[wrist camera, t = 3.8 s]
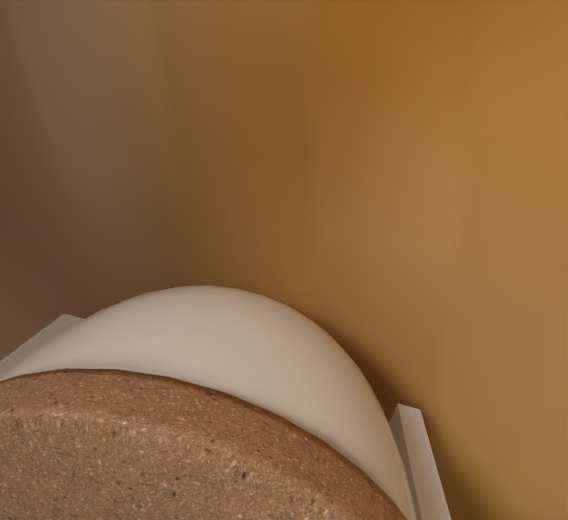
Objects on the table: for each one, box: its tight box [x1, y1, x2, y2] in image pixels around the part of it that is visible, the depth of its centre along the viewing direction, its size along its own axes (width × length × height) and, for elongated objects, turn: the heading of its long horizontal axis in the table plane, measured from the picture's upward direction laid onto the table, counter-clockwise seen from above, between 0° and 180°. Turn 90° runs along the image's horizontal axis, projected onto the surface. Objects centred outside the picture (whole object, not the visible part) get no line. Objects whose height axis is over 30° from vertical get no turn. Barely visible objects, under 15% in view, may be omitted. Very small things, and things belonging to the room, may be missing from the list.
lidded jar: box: [0, 285, 417, 520], centre depth 10 cm, size 11×11×9 cm
